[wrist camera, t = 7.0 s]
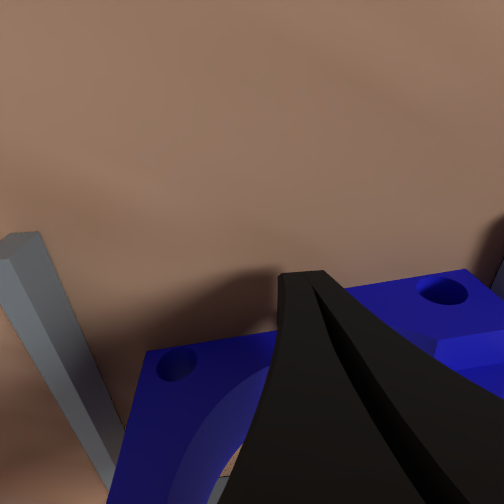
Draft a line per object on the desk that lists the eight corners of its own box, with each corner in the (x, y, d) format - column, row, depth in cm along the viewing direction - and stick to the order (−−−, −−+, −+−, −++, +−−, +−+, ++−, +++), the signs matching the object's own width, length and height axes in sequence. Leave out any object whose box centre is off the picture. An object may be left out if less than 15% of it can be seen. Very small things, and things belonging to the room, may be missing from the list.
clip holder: (554, 197, 10) (623, 225, 8) (425, 462, 18) (446, 503, 17) (10, 233, 9) (-39, 272, 7) (136, 493, 17) (126, 540, 16)
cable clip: (462, 265, 11) (659, 432, 6) (441, 350, 14) (571, 522, 9) (134, 319, 11) (62, 527, 6) (169, 394, 14) (137, 591, 9)
